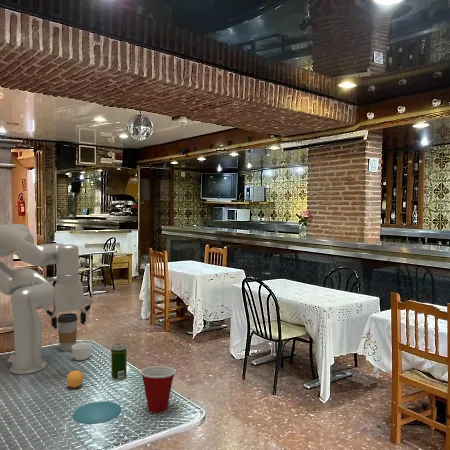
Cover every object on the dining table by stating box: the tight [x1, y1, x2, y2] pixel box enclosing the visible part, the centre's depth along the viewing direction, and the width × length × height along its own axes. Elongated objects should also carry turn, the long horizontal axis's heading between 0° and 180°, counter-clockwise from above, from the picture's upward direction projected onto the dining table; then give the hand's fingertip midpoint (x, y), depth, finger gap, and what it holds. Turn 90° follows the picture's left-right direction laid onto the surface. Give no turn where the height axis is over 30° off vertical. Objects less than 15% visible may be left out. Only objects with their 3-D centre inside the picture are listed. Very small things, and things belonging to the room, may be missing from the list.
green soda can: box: [110, 342, 128, 381], centre depth 157 cm, size 5×5×12 cm
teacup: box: [71, 342, 92, 362], centre depth 177 cm, size 10×8×5 cm
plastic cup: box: [140, 365, 177, 414], centre depth 133 cm, size 11×11×12 cm
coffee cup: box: [57, 312, 78, 352], centre depth 188 cm, size 8×8×15 cm
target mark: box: [72, 400, 122, 425], centre depth 130 cm, size 14×14×1 cm
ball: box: [65, 370, 84, 388], centre depth 149 cm, size 6×6×6 cm
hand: (69, 325), depth 156 cm, fingers open, 9 cm apart
